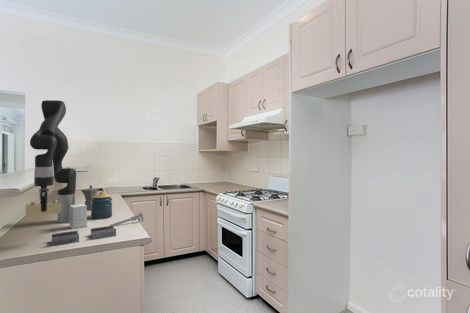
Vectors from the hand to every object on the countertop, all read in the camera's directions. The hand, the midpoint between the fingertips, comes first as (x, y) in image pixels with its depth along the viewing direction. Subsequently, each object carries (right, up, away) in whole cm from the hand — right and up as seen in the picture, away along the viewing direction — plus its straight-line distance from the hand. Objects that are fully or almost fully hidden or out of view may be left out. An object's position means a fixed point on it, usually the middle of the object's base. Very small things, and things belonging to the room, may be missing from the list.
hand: (44, 210), depth 130 cm
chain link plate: (0, -2, 0) cm, 2 cm away
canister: (+5, -14, +47) cm, 50 cm away
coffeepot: (-14, -13, +70) cm, 73 cm away
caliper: (+28, -15, +32) cm, 45 cm away
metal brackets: (+17, -15, +5) cm, 24 cm away
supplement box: (+2, -15, +25) cm, 29 cm away
